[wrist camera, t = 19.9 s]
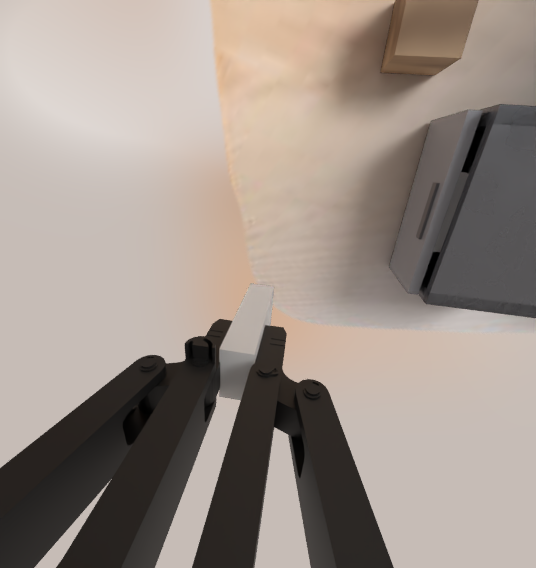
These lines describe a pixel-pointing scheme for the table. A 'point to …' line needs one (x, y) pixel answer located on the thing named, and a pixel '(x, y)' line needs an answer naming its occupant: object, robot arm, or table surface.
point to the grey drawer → (433, 196)
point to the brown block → (427, 35)
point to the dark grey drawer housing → (492, 222)
